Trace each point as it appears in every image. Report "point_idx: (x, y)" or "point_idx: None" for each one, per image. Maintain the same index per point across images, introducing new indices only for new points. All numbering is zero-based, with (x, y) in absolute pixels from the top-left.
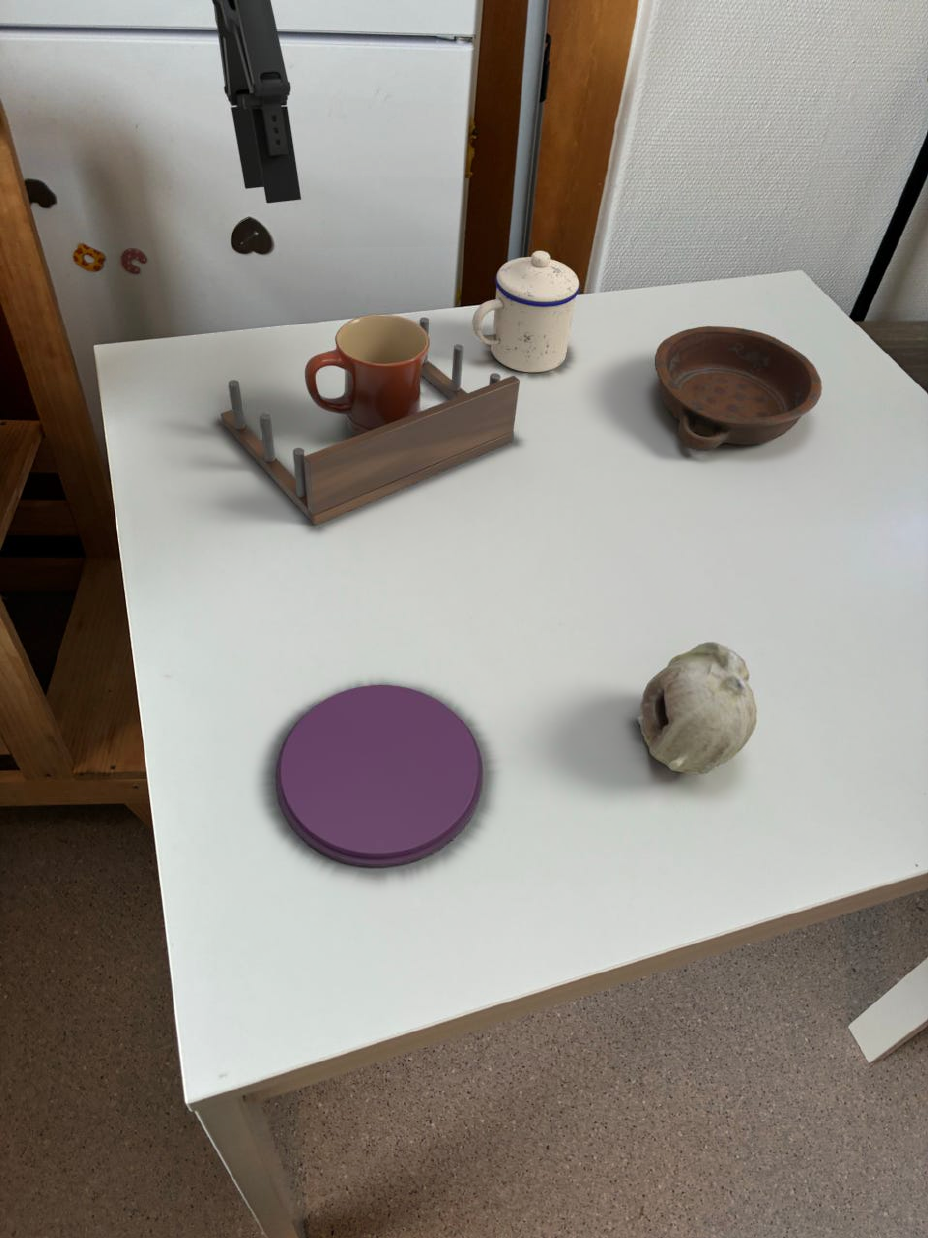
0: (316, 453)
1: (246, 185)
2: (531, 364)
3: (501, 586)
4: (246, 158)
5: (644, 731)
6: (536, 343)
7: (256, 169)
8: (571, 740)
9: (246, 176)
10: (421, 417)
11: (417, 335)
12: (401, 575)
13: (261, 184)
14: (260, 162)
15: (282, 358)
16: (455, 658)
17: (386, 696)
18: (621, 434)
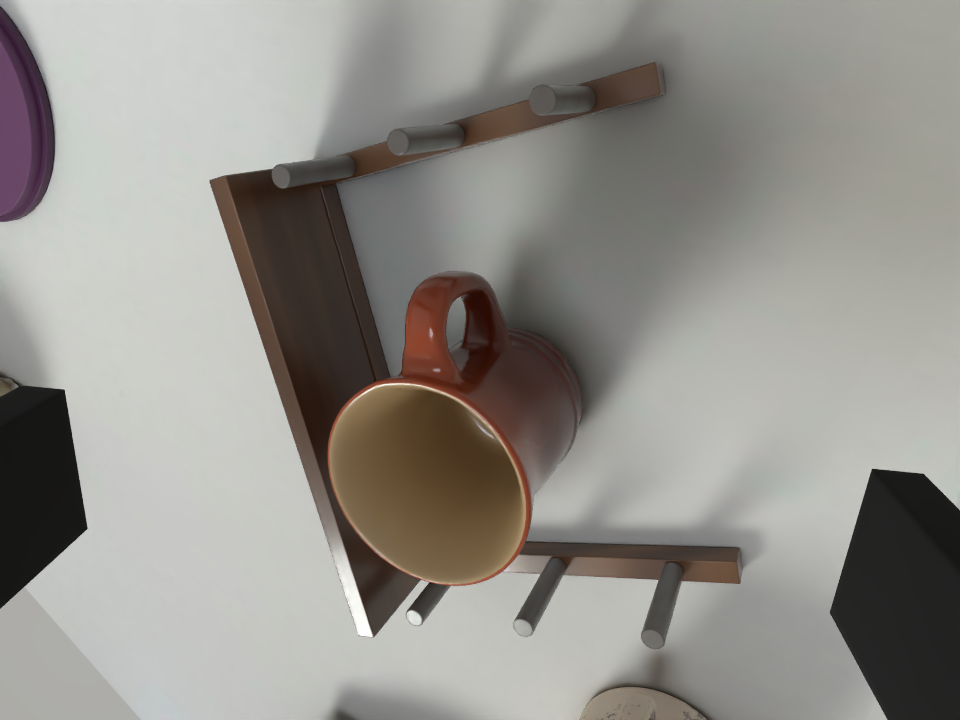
0: (229, 203)
1: (873, 481)
2: (581, 716)
3: (174, 365)
4: (943, 603)
5: (8, 382)
6: None
7: (893, 599)
8: (6, 314)
9: (896, 517)
10: (292, 430)
11: (447, 562)
12: (203, 253)
13: (852, 556)
14: None
15: (889, 301)
16: (88, 255)
17: (18, 147)
18: (399, 688)
